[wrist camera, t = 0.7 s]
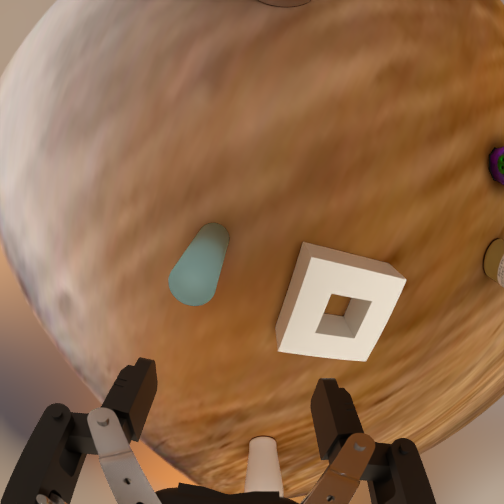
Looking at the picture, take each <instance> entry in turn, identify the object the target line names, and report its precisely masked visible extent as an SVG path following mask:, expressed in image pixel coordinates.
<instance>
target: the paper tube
mask: <svg viewBox="0 0 504 504" xmlns="http://www.w3.org/2000/svg"><path fill="white" fill-rule="evenodd" d="M484 270H485V273H486V275H487V276H488V277H490V278H491V279H493V280H494V281H495V282H497V283H498V284H500V285H501V286H502V287H504V240H503V239H497V240H495V241H494V242H492V243H491V245H490V246H489V248H488V250H487V252H486V255H485V259H484Z"/></svg>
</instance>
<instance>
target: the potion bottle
mask: <svg viewBox="0 0 504 504" xmlns="http://www.w3.org/2000/svg"><path fill="white" fill-rule="evenodd" d="M489 171H490V173H491V175H492V178H493V180H494V181H498V182H500V183H501V184H503V185H504V147H501V148H495V147H494V149H493V150H492V152H491V153H490V155H489Z"/></svg>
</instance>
